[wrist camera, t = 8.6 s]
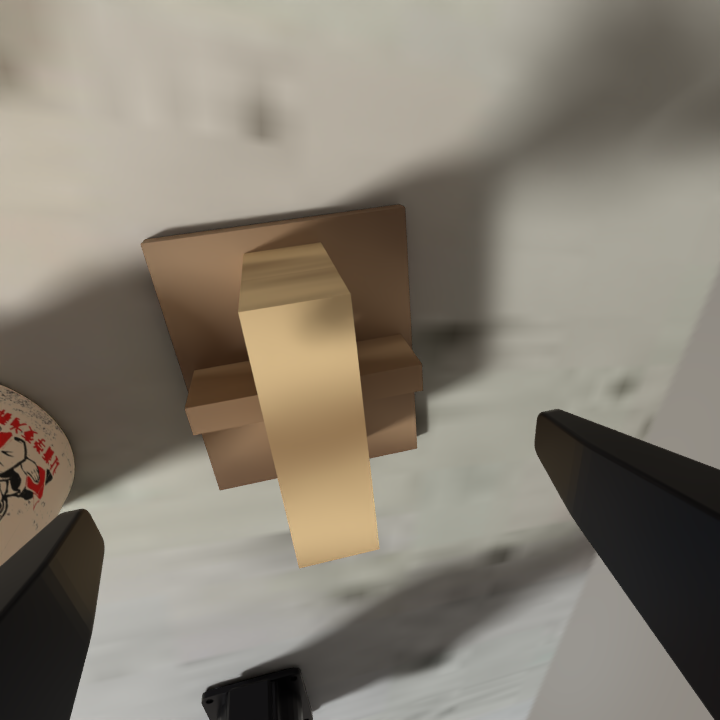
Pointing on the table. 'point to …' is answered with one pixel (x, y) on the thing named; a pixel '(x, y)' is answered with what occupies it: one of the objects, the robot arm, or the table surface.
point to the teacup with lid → (30, 470)
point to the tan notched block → (310, 398)
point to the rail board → (227, 344)
